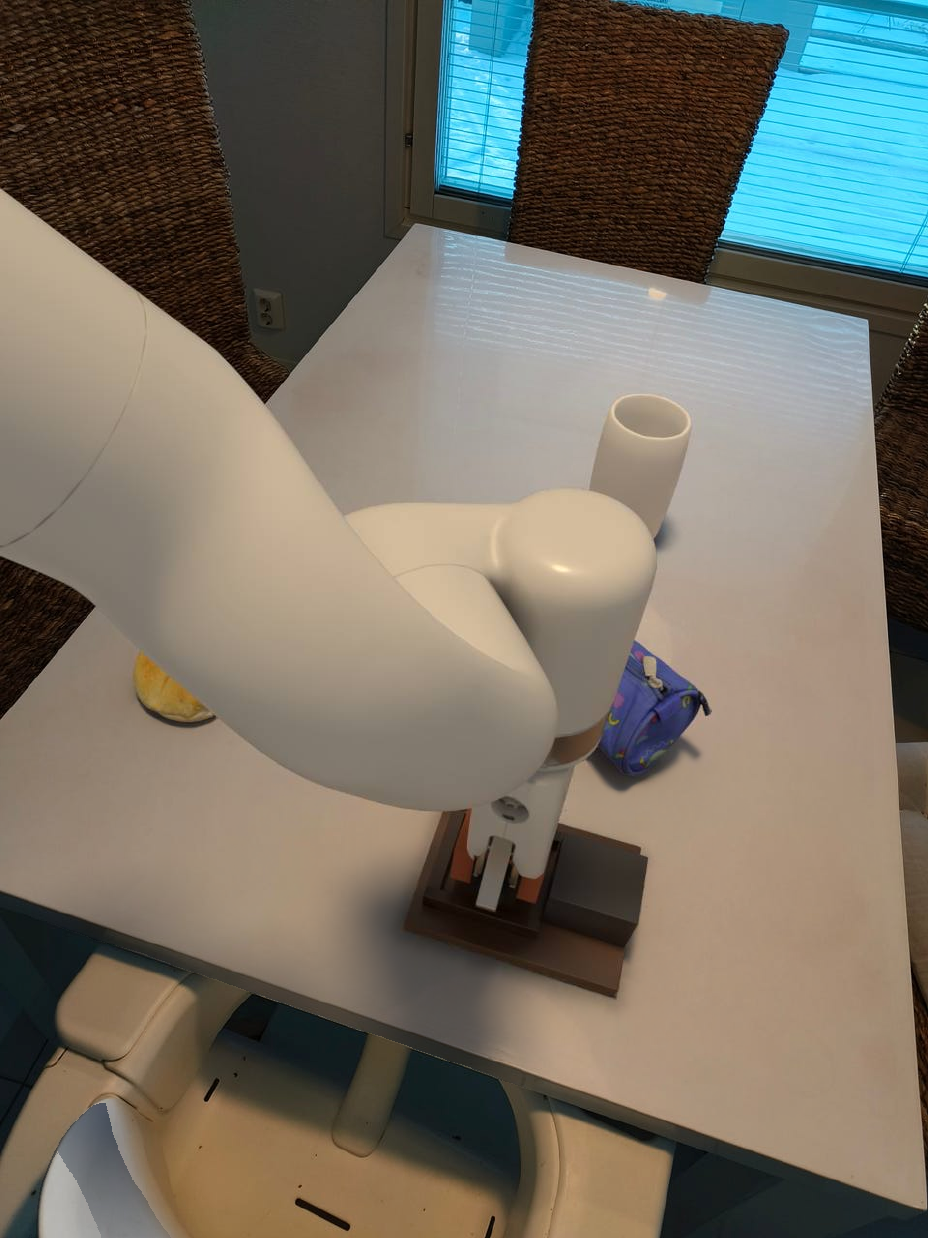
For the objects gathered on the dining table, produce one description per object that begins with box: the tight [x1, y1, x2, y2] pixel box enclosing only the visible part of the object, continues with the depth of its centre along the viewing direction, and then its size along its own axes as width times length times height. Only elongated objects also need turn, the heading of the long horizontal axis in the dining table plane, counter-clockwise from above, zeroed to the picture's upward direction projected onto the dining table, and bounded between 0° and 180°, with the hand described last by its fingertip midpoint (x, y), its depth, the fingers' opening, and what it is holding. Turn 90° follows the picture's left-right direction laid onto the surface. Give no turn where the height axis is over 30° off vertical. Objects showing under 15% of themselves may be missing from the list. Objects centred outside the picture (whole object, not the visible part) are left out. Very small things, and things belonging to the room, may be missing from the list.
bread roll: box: [132, 650, 215, 723], centre depth 71 cm, size 8×9×4 cm
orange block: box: [451, 808, 551, 904], centre depth 58 cm, size 5×6×4 cm
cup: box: [588, 393, 693, 540], centre depth 85 cm, size 8×8×14 cm
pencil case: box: [596, 640, 713, 776], centre depth 71 cm, size 22×9×10 cm, turn 37°
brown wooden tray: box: [403, 809, 649, 997], centre depth 60 cm, size 11×15×5 cm
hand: (503, 856), depth 59 cm, fingers closed on orange block, 5 cm apart
